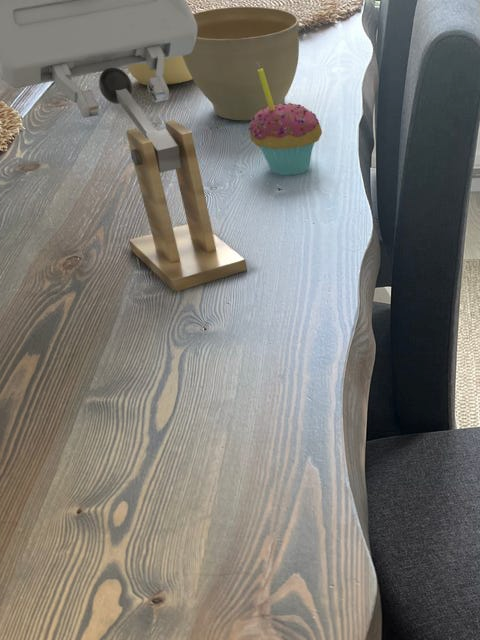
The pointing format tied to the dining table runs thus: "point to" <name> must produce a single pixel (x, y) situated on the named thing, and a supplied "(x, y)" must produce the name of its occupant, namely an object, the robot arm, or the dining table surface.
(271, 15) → the planter bowl
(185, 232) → the wooden lever stand
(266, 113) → the cupcake
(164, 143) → the knife lever
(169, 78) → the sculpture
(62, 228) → the dining table surface
